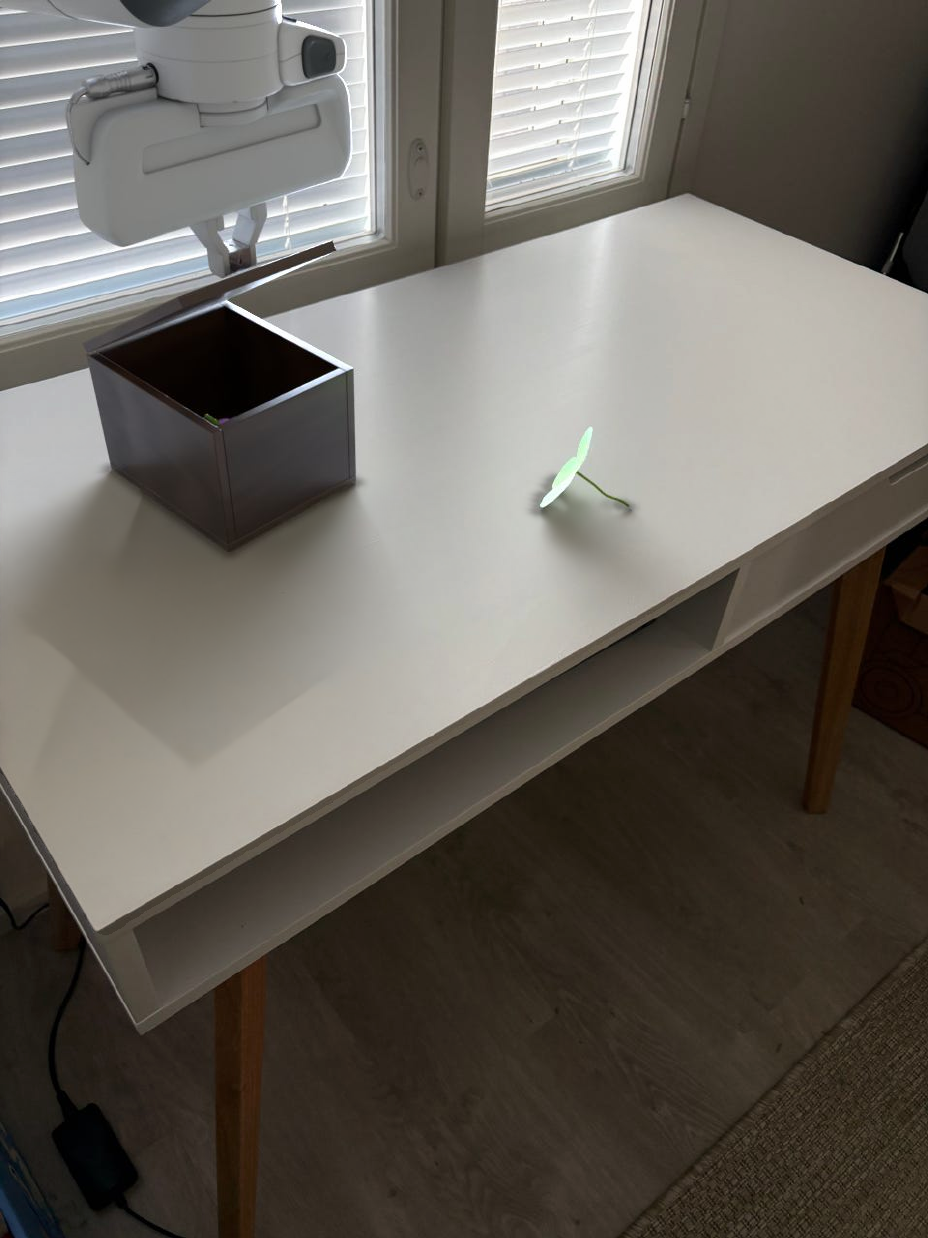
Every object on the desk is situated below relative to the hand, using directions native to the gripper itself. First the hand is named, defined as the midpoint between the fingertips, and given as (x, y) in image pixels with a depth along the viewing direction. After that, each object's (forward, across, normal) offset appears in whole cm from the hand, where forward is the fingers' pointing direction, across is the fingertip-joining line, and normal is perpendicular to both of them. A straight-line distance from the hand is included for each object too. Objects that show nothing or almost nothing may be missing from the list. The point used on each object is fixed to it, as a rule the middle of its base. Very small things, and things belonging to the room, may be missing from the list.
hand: (233, 270), depth 71 cm
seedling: (+19, +18, -20) cm, 33 cm away
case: (+19, 0, +3) cm, 19 cm away
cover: (+4, 0, +4) cm, 5 cm away
